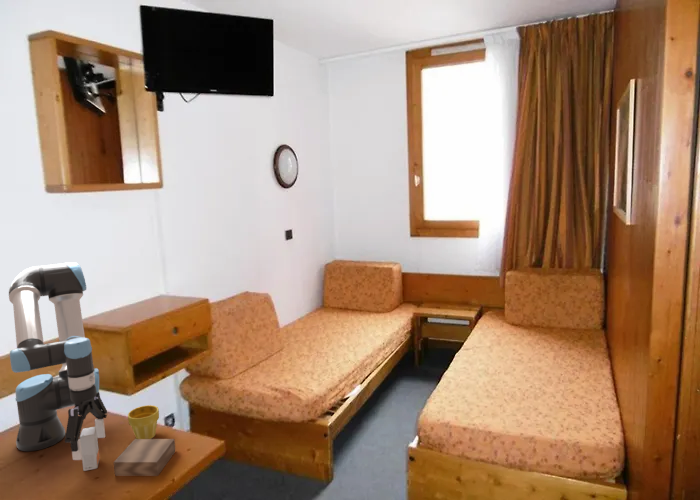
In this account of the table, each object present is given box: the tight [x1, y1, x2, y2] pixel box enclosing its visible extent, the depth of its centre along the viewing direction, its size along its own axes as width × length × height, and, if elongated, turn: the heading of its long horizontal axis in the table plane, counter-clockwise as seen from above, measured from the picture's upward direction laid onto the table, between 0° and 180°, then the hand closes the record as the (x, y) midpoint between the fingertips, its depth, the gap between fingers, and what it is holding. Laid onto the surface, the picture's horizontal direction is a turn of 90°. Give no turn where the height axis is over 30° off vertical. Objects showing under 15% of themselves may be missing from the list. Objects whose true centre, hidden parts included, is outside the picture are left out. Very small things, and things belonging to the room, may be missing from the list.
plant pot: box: [127, 404, 160, 439], centre depth 181 cm, size 10×10×10 cm
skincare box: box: [79, 425, 100, 472], centre depth 163 cm, size 6×4×12 cm
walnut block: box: [113, 438, 176, 477], centre depth 164 cm, size 14×14×5 cm
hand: (89, 448), depth 163 cm, fingers open, 13 cm apart
